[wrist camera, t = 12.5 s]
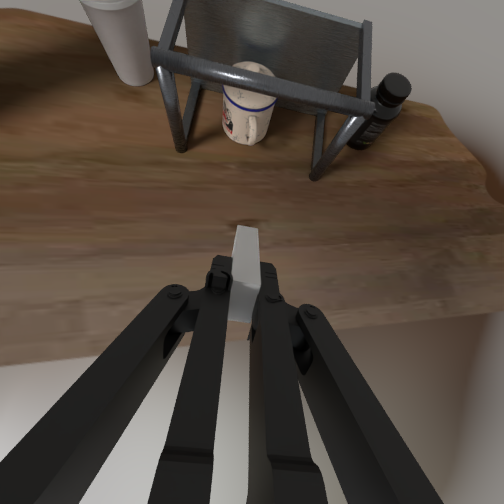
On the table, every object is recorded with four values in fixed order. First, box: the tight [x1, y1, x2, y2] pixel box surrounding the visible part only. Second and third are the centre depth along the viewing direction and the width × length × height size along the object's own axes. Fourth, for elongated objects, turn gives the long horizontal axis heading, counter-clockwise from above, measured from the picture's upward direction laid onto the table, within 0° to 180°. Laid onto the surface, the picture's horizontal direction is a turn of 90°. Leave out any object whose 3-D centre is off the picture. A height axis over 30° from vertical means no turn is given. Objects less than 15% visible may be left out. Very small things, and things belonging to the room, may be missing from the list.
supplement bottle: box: [346, 73, 412, 150], centre depth 44 cm, size 7×7×12 cm
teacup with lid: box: [222, 61, 278, 146], centre depth 41 cm, size 12×9×12 cm
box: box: [150, 0, 375, 181], centre depth 39 cm, size 27×16×17 cm, turn 82°
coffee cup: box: [79, 0, 154, 86], centre depth 39 cm, size 10×10×15 cm
